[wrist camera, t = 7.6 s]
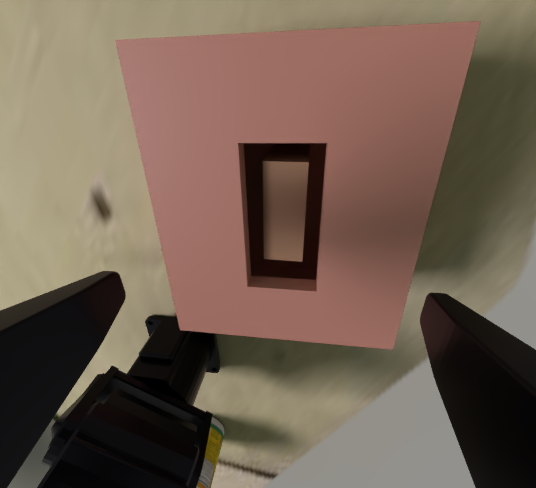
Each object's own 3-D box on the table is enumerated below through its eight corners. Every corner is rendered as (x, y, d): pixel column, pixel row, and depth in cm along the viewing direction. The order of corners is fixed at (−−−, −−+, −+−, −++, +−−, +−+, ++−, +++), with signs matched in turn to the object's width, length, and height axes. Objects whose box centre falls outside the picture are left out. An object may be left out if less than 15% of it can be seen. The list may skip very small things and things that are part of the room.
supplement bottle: (206, 407, 32) (169, 517, 24) (234, 433, 34) (208, 544, 25) (173, 417, 34) (128, 523, 26) (201, 441, 36) (168, 547, 27)
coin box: (369, 275, 21) (393, 349, 15) (215, 266, 23) (179, 330, 17) (409, 52, 15) (480, 20, 8) (189, 60, 16) (115, 40, 10)
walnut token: (304, 222, 19) (302, 261, 14) (274, 221, 19) (263, 258, 15) (309, 144, 16) (308, 162, 12) (275, 143, 17) (262, 160, 12)
